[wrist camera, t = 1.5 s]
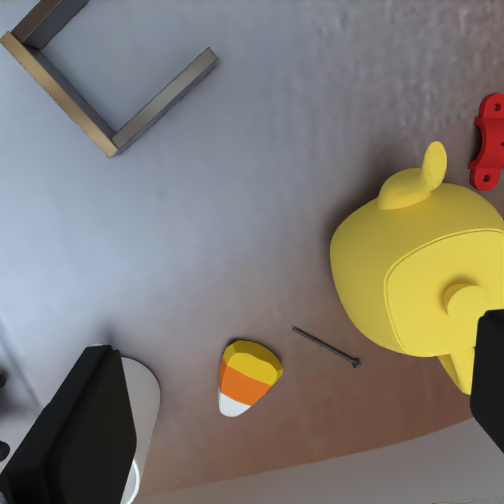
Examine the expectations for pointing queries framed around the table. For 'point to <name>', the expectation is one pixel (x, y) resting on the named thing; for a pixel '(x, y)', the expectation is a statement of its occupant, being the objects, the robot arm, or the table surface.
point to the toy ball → (1, 448)
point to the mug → (140, 418)
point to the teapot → (422, 266)
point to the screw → (355, 362)
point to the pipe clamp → (489, 143)
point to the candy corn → (245, 376)
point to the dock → (53, 82)
